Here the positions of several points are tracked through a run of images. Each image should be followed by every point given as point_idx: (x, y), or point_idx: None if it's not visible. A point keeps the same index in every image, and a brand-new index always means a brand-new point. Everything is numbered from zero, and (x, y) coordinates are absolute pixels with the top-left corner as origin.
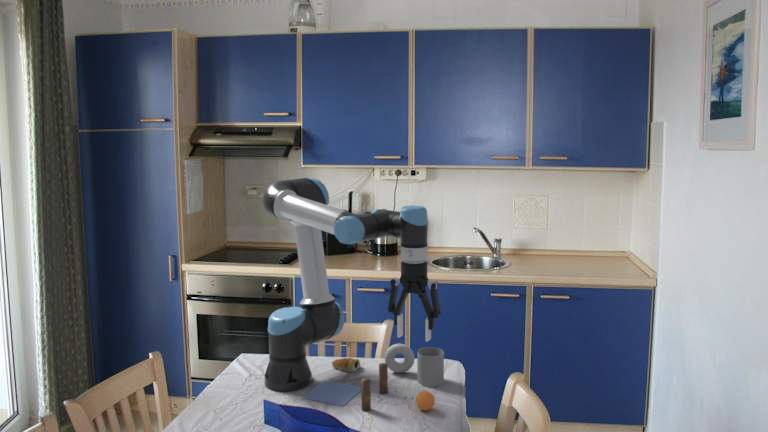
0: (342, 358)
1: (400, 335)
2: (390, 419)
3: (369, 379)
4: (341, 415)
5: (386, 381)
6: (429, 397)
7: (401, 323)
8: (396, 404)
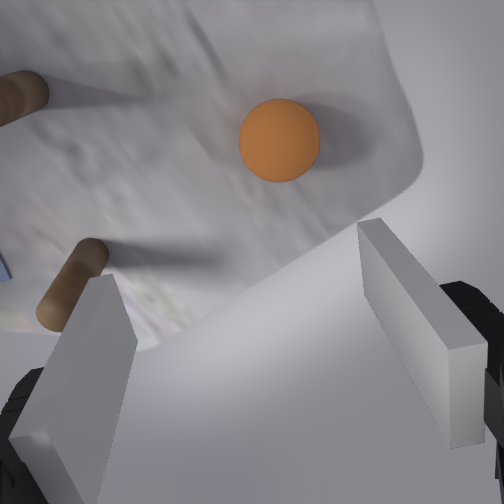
0: None
1: (129, 333)
2: (212, 265)
3: (68, 304)
4: None
5: (28, 101)
6: (311, 159)
7: (98, 385)
8: (153, 157)
